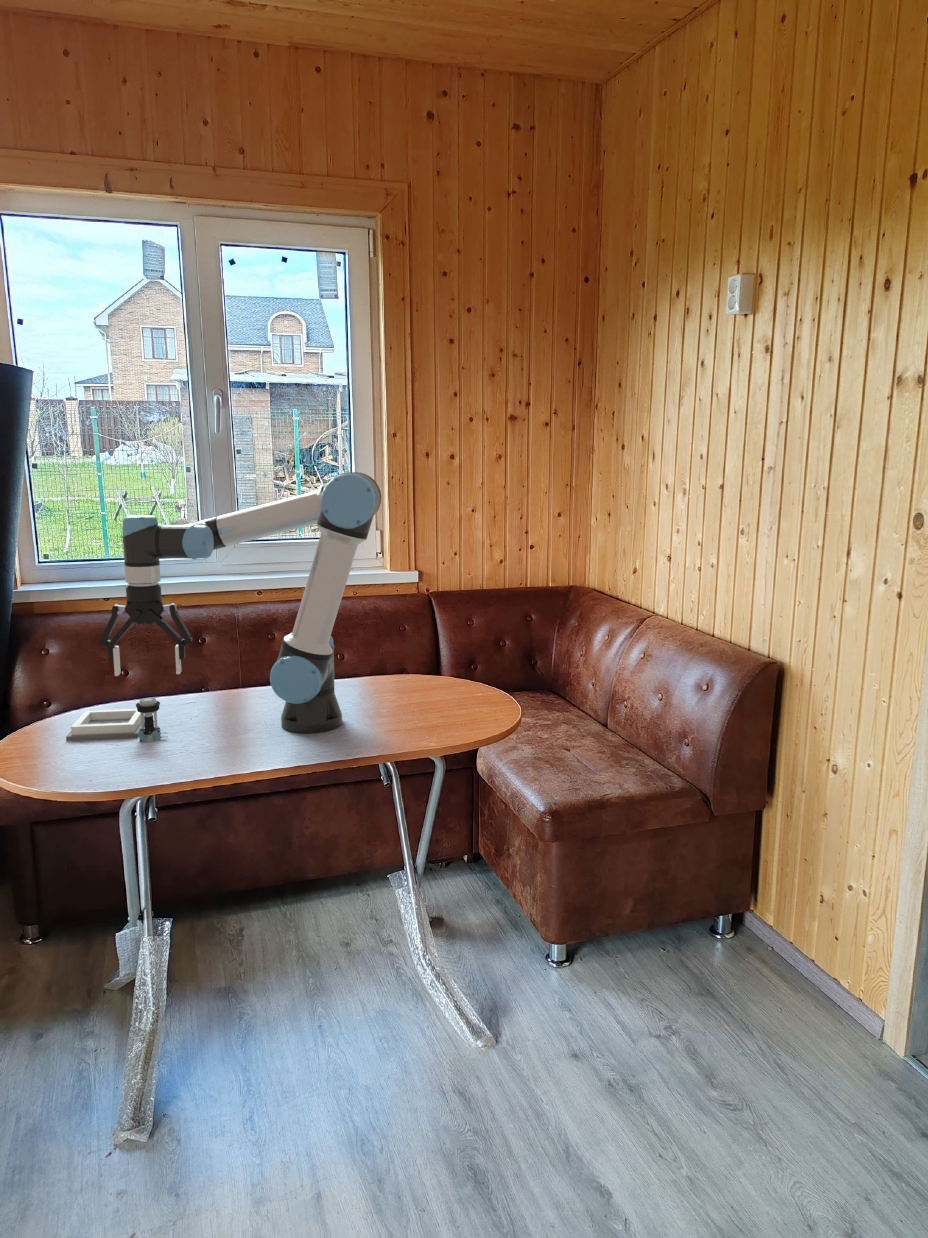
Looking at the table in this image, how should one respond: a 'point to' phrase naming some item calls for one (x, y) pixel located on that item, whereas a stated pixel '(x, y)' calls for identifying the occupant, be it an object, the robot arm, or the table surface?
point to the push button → (149, 720)
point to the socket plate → (106, 725)
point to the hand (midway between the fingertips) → (148, 673)
